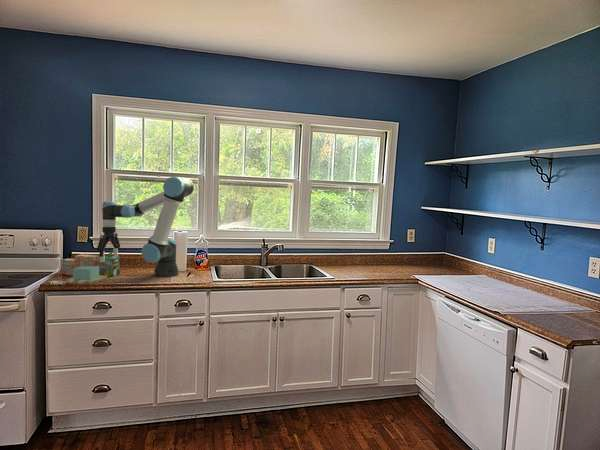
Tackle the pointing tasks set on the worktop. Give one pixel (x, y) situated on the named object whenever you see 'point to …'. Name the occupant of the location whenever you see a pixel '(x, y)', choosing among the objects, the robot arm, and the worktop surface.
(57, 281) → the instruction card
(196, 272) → the worktop surface
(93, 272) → the brick
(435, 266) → the worktop surface
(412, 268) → the worktop surface
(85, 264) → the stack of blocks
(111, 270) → the chalk box
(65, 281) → the build plate
